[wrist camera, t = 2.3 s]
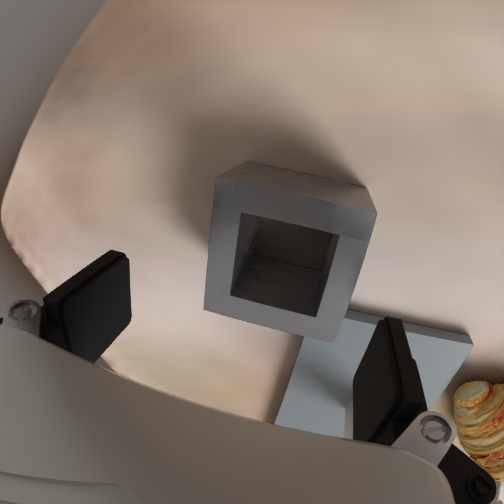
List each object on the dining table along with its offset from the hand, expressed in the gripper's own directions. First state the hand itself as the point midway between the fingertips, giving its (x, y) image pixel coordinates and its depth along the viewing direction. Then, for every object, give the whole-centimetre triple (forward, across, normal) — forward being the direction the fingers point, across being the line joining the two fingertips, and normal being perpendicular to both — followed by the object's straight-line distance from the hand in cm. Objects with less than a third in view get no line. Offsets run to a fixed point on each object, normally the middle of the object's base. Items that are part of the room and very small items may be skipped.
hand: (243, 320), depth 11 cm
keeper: (+8, -8, +10) cm, 15 cm away
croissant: (+8, -25, +10) cm, 28 cm away
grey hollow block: (+7, -1, -1) cm, 8 cm away
